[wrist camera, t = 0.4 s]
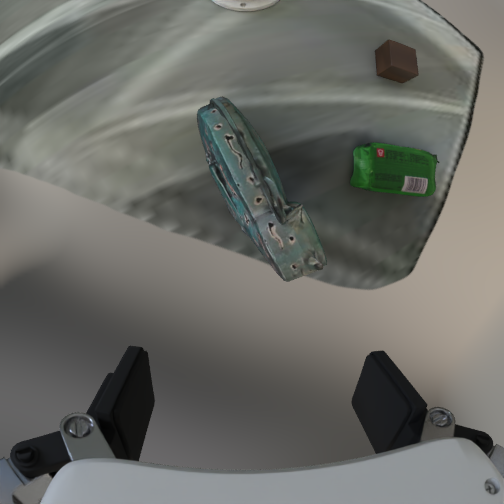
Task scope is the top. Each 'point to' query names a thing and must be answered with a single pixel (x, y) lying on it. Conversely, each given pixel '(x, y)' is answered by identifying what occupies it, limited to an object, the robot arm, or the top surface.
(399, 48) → the walnut block
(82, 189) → the top surface
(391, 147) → the snack package
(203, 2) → the top surface
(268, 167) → the ceramic cat
